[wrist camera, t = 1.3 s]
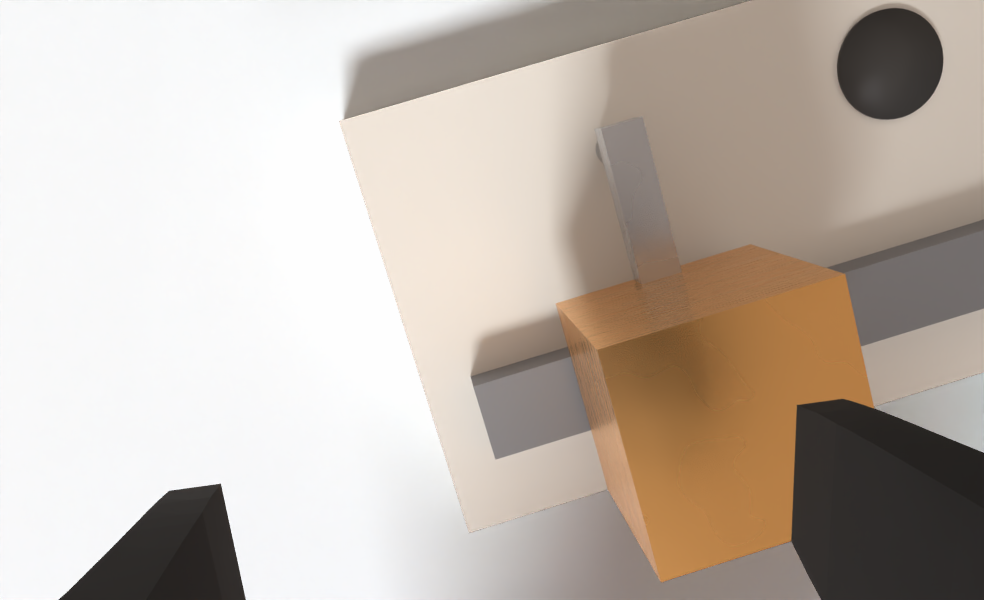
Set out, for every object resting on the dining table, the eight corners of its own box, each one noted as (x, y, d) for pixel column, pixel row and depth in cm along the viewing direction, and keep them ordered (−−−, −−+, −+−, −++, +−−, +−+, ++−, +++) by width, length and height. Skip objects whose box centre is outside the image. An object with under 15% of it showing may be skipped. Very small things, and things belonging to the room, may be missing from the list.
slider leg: (600, 476, 20) (660, 582, 15) (508, 152, 18) (544, 158, 14) (781, 420, 20) (895, 508, 15) (703, 94, 18) (803, 81, 14)
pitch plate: (465, 511, 21) (490, 666, 15) (342, 121, 19) (313, 115, 13) (1361, 231, 22) (1736, 269, 16) (1320, -165, 20) (1723, -298, 14)
